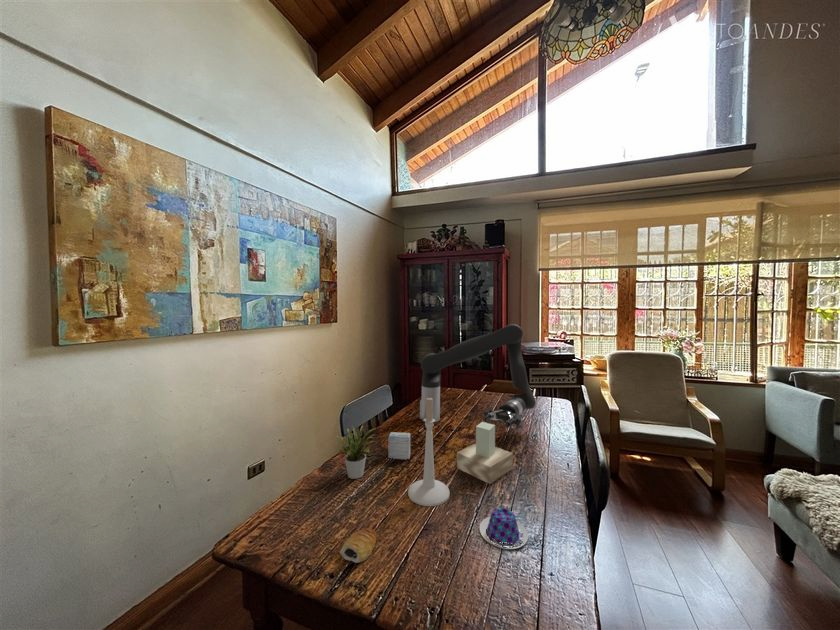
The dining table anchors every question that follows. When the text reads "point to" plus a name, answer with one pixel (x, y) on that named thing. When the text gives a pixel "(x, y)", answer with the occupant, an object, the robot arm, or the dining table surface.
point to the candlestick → (429, 471)
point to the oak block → (485, 463)
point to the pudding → (502, 527)
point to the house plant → (356, 453)
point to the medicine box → (399, 445)
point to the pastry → (359, 545)
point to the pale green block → (485, 439)
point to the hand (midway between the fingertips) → (496, 422)
